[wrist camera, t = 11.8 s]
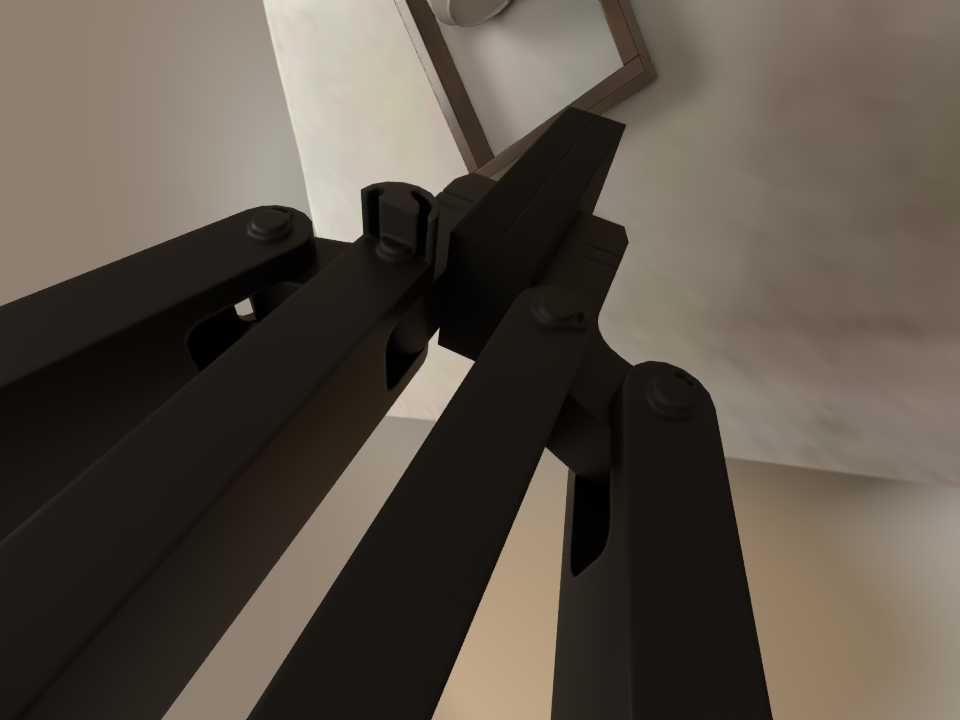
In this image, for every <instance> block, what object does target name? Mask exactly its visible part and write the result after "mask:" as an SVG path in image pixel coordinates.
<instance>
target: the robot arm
mask: <svg viewBox="0 0 960 720" xmlns="http://www.w3.org/2000/svg"><path fill="white" fill-rule="evenodd" d="M625 127H626V124H623V123H620V122H617V121H614V120H611V119H608V118H605V117H602V116H599V115H596V114H593V113H590V112H587V111H584V110H581V109H578V108H575V107H572V106H569V107H568V108H567V109H566V110H565V111H564V112H563V113H562V114H561V115H560V116H559V117H558V118H557V119H556V120H555V121H554V122H553V123H552V125H551V126H550V127H549V128H548V129H547V130H546V131H545V132H544V133H543V134H542V135H541V136H540V137H539V138H538V139H537V140H536V141H535V142H534V144H533V145H532V146H531V147H530V148H529V149H528V150H527V151H526V152H525V153H524V154H523V155H522V156H521V157H520V158H519V159H518V160H517V162H516V163H515V164H514V165H513V166H512V167H511V168H510V169H509V170H508V171H507V172H506V173H505V174H504V175H503V176H502V177H501V178H500V179H499V181H495V180H493V179H490V178H487V177H485V176H482V175H479V174H477V173H471V174H468V175H465V176H462V177H459V178H456V179H454V180H453V181H452V182H451V183H450V184H449V185H448V186H447V187H446V188H445V189H443V192H440V193H439V194H438V195H437V196H436V197H434V196H433V195H432V194H431V193H430V192H428V191H426V190H424V189H423V188H421V187H419V186H415V185H412V184H408V183H404V182H382V183H376V184H372V185H370V186H367V187H365V188H363V189H361V201H362V218H363V235H362V236H361V237H360V238H358V239H357V240H356V241H355V242H354V243H349V242H342V241H336V240H330V239H324V238H318V237H314V233H313V227H312V221H311V220H310V219H309V218H308V217H307V216H306V214H305V213H303V212H300V211H298V210H296V209H294V208H290V207H284V206H279V205H273V206H260V207H256V208H252V209H248V210H245V211H243V212H240V213H237V214H235V215H232V216H230V217H228V218H225V219H222V220H220V221H217V222H214V223H212V224H209V225H207V226H204V227H202V228H200V229H197V230H194V231H191V232H189V233H186V234H184V235H181V236H179V237H176V238H174V239H171V240H168V241H166V242H164V243H161V244H158V245H156V246H153V247H151V248H148V249H145V250H143V251H140V252H138V253H135V254H133V255H130V256H128V257H125V258H122V259H120V260H118V261H115V262H112V263H110V264H107V265H105V266H102V267H100V268H97V269H95V270H92V271H89V272H87V273H84V274H82V275H79V276H77V277H74V278H72V279H69V280H66V281H64V282H61V283H59V284H56V285H54V286H51V287H48V288H46V289H43V290H41V291H38V292H36V293H33V294H31V295H28V296H26V297H23V298H20V299H18V300H15V301H13V302H10V303H8V304H5V305H3V306H0V720H161V719H162V718H163V716H164V715H165V714H166V712H167V711H168V710H169V708H170V707H171V705H172V704H173V703H174V701H175V700H176V699H177V697H178V696H179V695H180V693H181V692H182V691H183V689H184V688H185V686H186V685H187V684H188V682H189V681H190V680H191V678H192V677H193V676H194V674H195V673H196V672H197V670H198V669H199V667H200V666H201V665H202V663H203V662H204V661H205V659H206V658H207V656H208V655H209V654H210V652H211V651H212V650H213V648H214V647H215V646H216V644H217V643H218V642H219V640H220V639H221V637H222V636H223V635H224V633H225V632H226V631H227V629H228V628H229V626H230V625H231V624H232V623H233V621H234V620H235V619H236V617H237V616H238V614H239V613H240V612H241V610H242V609H243V608H244V606H245V605H246V604H247V602H248V601H249V600H250V598H251V597H252V595H253V594H254V593H255V591H256V590H257V589H258V587H259V586H260V584H261V583H262V582H263V580H264V579H265V578H266V576H267V575H268V574H269V572H270V571H271V570H272V568H273V567H274V566H275V564H276V563H277V561H278V560H279V559H280V557H281V556H282V555H283V553H284V552H285V551H286V549H287V548H288V546H289V545H290V544H291V542H292V541H293V540H294V538H295V537H296V536H297V534H298V533H299V532H300V530H301V529H302V528H303V526H304V525H305V523H306V522H307V521H308V519H309V518H310V517H311V515H312V514H313V513H314V511H315V510H316V508H317V507H318V506H319V504H320V503H321V502H322V500H323V499H324V497H325V496H326V495H327V494H328V492H329V491H330V489H331V488H332V487H333V485H334V484H335V483H336V481H337V480H338V479H339V477H340V476H341V475H342V473H343V472H344V470H345V469H346V468H347V466H348V465H349V464H350V462H351V461H352V459H353V458H354V457H355V456H356V454H357V453H358V451H359V450H360V449H361V447H362V446H363V445H364V443H365V442H366V441H367V439H368V438H369V436H370V435H371V434H372V432H373V431H374V430H375V428H376V427H377V426H378V424H379V423H380V422H381V420H382V419H383V417H384V416H385V415H386V413H387V412H388V411H389V409H390V408H391V407H392V405H393V404H394V403H395V401H396V400H397V398H398V397H399V396H400V394H401V393H402V392H403V390H404V389H405V388H406V386H407V385H408V384H409V382H410V381H411V379H412V378H413V377H414V375H415V374H416V373H417V371H418V370H419V369H420V367H421V366H422V364H423V363H424V361H425V359H426V356H427V354H428V342H429V340H430V339H431V338H432V336H433V335H434V334H435V332H436V331H437V330H438V329H439V327H440V329H439V338H438V345H440V346H442V347H444V348H447V349H449V350H451V351H453V352H456V353H458V354H460V355H462V356H464V357H467V358H469V359H471V360H473V361H475V363H474V364H473V366H472V367H471V369H470V371H469V372H468V374H467V375H466V377H465V378H464V380H463V382H462V383H461V385H460V386H459V388H458V389H457V391H456V393H455V394H454V396H453V397H452V399H451V400H450V402H449V403H448V405H447V407H446V408H445V410H444V411H443V413H442V414H441V416H440V418H439V419H438V421H437V422H436V424H435V426H434V427H433V428H432V430H431V432H430V433H429V435H428V436H427V438H426V439H425V441H424V443H423V444H422V446H421V448H420V449H419V450H418V452H417V453H416V455H415V457H414V458H413V460H412V461H411V463H410V464H409V466H408V468H407V469H406V471H405V472H404V474H403V475H402V477H401V479H400V480H399V482H398V483H397V485H396V487H395V488H394V489H393V491H392V493H391V494H390V496H389V497H388V499H387V500H386V502H385V504H384V505H383V507H382V508H381V510H380V512H379V513H378V515H377V516H376V518H375V519H374V521H373V522H372V524H371V525H370V527H369V529H368V530H367V532H366V533H365V535H364V536H363V538H362V539H361V541H360V543H359V544H358V546H357V547H356V549H355V550H354V552H353V554H352V555H351V557H350V558H349V560H348V562H347V563H346V565H345V566H344V568H343V569H342V571H341V572H340V574H339V576H338V577H337V579H336V580H335V582H334V583H333V585H332V586H331V588H330V590H329V591H328V593H327V594H326V596H325V598H324V599H323V600H322V602H321V604H320V605H319V607H318V608H317V610H316V611H315V613H314V615H313V616H312V618H311V619H310V621H309V622H308V624H307V625H306V627H305V629H304V630H303V632H302V633H301V635H300V636H299V638H298V640H297V641H296V643H295V644H294V646H293V647H292V649H291V651H290V652H289V654H288V655H287V657H286V658H285V660H284V661H283V663H282V665H281V666H280V668H279V669H278V671H277V672H276V674H275V676H274V677H273V679H272V680H271V682H270V683H269V685H268V686H267V688H266V690H265V691H264V693H263V694H262V696H261V698H260V699H259V701H258V702H257V704H256V705H255V707H254V708H253V710H252V711H251V713H250V715H249V716H248V718H247V719H246V720H431V719H432V717H433V714H434V712H435V709H436V707H437V705H438V702H439V700H440V697H441V695H442V693H443V690H444V688H445V685H446V683H447V681H448V678H449V676H450V673H451V671H452V668H453V666H454V664H455V661H456V659H457V657H458V654H459V652H460V650H461V647H462V645H463V642H464V639H465V638H466V635H467V633H468V630H469V628H470V625H471V623H472V621H473V618H474V616H475V614H476V611H477V609H478V606H479V604H480V602H481V599H482V597H483V594H484V592H485V590H486V587H487V585H488V582H489V580H490V578H491V575H492V573H493V570H494V568H495V566H496V563H497V561H498V558H499V556H500V554H501V551H502V549H503V547H504V544H505V542H506V539H507V537H508V535H509V532H510V530H511V527H512V525H513V522H514V520H515V518H516V515H517V513H518V511H519V508H520V506H521V503H522V501H523V499H524V496H525V494H526V491H527V489H528V487H529V484H530V482H531V479H532V477H533V475H534V472H535V470H536V467H537V465H538V463H539V460H540V458H541V456H542V453H543V451H544V448H545V447H546V448H547V449H549V450H550V451H551V452H552V453H553V454H554V455H555V456H556V457H557V458H558V459H560V460H561V461H562V462H563V463H564V464H565V465H566V466H568V467H569V470H568V483H567V497H566V512H565V525H564V539H563V553H562V568H561V582H560V596H559V597H560V598H559V610H558V625H557V639H556V654H555V668H554V681H553V696H552V709H551V710H552V711H551V720H773V718H772V713H771V707H770V702H769V696H768V691H767V686H766V680H765V675H764V669H763V664H762V658H761V653H760V647H759V642H758V637H757V632H756V626H755V620H754V615H753V609H752V605H751V599H750V593H749V588H748V582H747V577H746V572H745V566H744V561H743V555H742V550H741V545H740V539H739V534H738V528H737V523H736V518H735V512H734V507H733V501H732V496H731V490H730V485H729V480H728V474H727V469H726V463H725V458H724V452H723V447H722V441H721V436H720V431H719V425H718V420H717V414H716V409H715V406H714V404H713V401H712V399H711V396H710V394H709V392H708V391H707V390H706V389H705V388H704V387H703V385H702V384H701V383H700V382H699V381H698V380H697V379H696V378H695V377H693V376H692V375H690V374H689V373H687V372H686V371H685V370H683V369H681V368H679V367H676V366H673V365H671V364H668V363H666V362H655V361H647V362H644V363H640V364H636V365H635V366H633V365H631V364H630V363H628V362H627V361H626V360H624V359H623V358H622V357H620V356H619V355H618V354H617V353H616V352H615V351H613V350H612V349H611V348H610V347H609V345H608V344H607V343H606V342H605V340H604V339H603V337H602V335H601V333H600V331H599V326H598V317H599V313H600V310H601V308H602V305H603V303H604V301H605V298H606V296H607V293H608V291H609V289H610V286H611V284H612V281H613V279H614V277H615V274H616V272H617V269H618V267H619V265H620V262H621V260H622V257H623V255H624V253H625V250H626V248H627V245H628V243H629V242H628V238H627V235H626V231H625V227H624V226H621V225H618V224H616V223H613V222H610V221H608V220H605V219H602V218H600V217H597V216H594V215H592V214H593V211H594V209H595V206H596V203H597V201H598V198H599V195H600V193H601V190H602V188H603V185H604V182H605V180H606V177H607V174H608V172H609V169H610V166H611V164H612V161H613V158H614V156H615V153H616V151H617V148H618V145H619V143H620V140H621V137H622V135H623V132H624V129H625ZM247 298H249V300H250V303H251V306H252V309H253V313H251V314H248V315H244V316H241V315H237V312H236V309H235V307H234V305H236V304H238V303H239V302H241V301H243V300H245V299H247Z"/></svg>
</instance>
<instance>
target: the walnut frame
mask: <svg viewBox="0 0 960 720" xmlns="http://www.w3.org/2000/svg"><path fill="white" fill-rule="evenodd" d="M394 1H395V3H396V6H397V8H398V10H399V12H400V15H401V17H402V19H403V22H404V24H405V26H406V29H407V31H408V33H409V36H410V38H411V40H412V42H413V45H414V47H415V49H416V52H417V54H418V56H419V59H420V61H421V63H422V66H423V68H424V70H425V72H426V75H427V77H428V79H429V82H430V84H431V86H432V89H433V91H434V93H435V96H436V98H437V100H438V102H439V105H440V107H441V109H442V112H443V114H444V116H445V119H446V121H447V123H448V126H449V128H450V130H451V132H452V135H453V137H454V139H455V142H456V144H457V146H458V149H459V151H460V153H461V156H462V158H463V160H464V162H465V165H466V167H467V169H468V172H469V174H471V173H477V174H479V175H482V176H485V177H487V178H490V179H493V180H495V181H499V179H500V178H501V177H502V176H503V175H504V174H505V173H506V172H507V171H508V170H509V169H510V168H511V167H512V166H513V165H514V164H515V163H516V162H517V160H518V159H519V158H520V157H521V156H522V155H523V154H524V153H525V152H526V151H527V150H528V149H529V148H530V147H531V146H532V145H533V144H534V142H535V141H536V140H537V139H538V138H539V137H540V136H541V135H542V134H543V133H544V132H545V131H546V130H547V129H548V128H549V127H550V126H551V125H552V123H553V122H554V121H555V120H556V119H557V118H558V117H559V116H560V115H561V114H562V113H563V112H564V111H565V110H566V109H567V108H568V107H569V106H572V107H575V108H578V109H581V110H584V111H587V112H590V113H593V114H596V115H599V116H600V115H602V114H603V113H605V112H606V111H608V110H609V109H611V108H612V107H614V106H615V105H617V104H618V103H620V102H621V101H623V100H624V99H626V98H627V97H629V96H630V95H632V94H633V93H635V92H636V91H638V90H639V89H641V88H642V87H644V86H645V85H647V84H648V83H650V82H652V81H653V80H655V79H656V78H657V75H656V72H655V70H654V67H653V65H652V63H651V59H650V57H649V54H648V51H647V49H646V46H645V43H644V41H643V38H642V35H641V33H640V30H639V27H638V25H637V22H636V19H635V17H634V14H633V11H632V9H631V6H630V3H629V1H628V0H599V2H600V5H601V7H602V10H603V13H604V15H605V18H606V20H607V23H608V26H609V28H610V31H611V34H612V36H613V39H614V41H615V44H616V47H617V49H618V52H619V54H620V57H621V60H622V62H623V65H624V66H623V67H621V68H620V69H619V70H617V71H616V72H614V73H613V74H612V75H610V76H609V77H607V78H606V79H605V80H603V81H602V82H600V83H599V84H598V85H596V86H595V87H593V88H592V89H591V90H589V91H588V92H586V93H585V94H584V95H582V96H581V97H579V98H578V99H577V100H575V101H574V102H572V103H571V104H570V105H568V106H567V107H565V108H564V109H562V110H561V111H560V112H558V113H557V114H555V115H554V116H553V117H551V118H550V119H548V120H547V121H546V122H544V123H543V124H541V125H540V126H539V127H537V128H536V129H534V130H533V131H532V132H530V133H529V134H527V135H526V136H525V137H523V138H522V139H520V140H519V141H518V142H516V143H515V144H513V145H512V146H511V147H509V148H508V149H506V150H505V151H504V152H502V153H501V154H499V155H498V156H496V157H495V158H494V157H493V155H492V152H491V150H490V148H489V145H488V143H487V141H486V138H485V136H484V133H483V131H482V129H481V126H480V124H479V122H478V119H477V117H476V115H475V112H474V110H473V108H472V105H471V103H470V101H469V98H468V96H467V94H466V91H465V89H464V86H463V84H462V82H461V79H460V77H459V75H458V72H457V70H456V68H455V65H454V63H453V61H452V58H451V56H450V54H449V51H448V49H447V47H446V44H445V42H444V39H443V37H442V35H441V32H440V30H439V28H438V25H437V23H436V21H435V18H434V16H433V14H432V11H431V9H430V7H429V4H428V2H427V0H394Z"/></svg>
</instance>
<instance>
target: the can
mask: <svg viewBox="0 0 960 720" xmlns="http://www.w3.org/2000/svg"><path fill="white" fill-rule="evenodd" d="M427 2H428V4H429V6H430V7H431V9H432V11H433V13H434V14H435V15H436V17H437V18H438V19H439V20H440V22H443V23H446V24H448V25H459V26H461V27H473V26H475V25H478V24H481V23H484V22H485V21H487V20H488V19H490V18H492V17H493V16H495V15H496V14H497V13H498V12H499V11H501V10H502V9H503V8H504V7H505V6H506V5H507V4H508V3H509V2H510V0H427Z"/></svg>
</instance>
